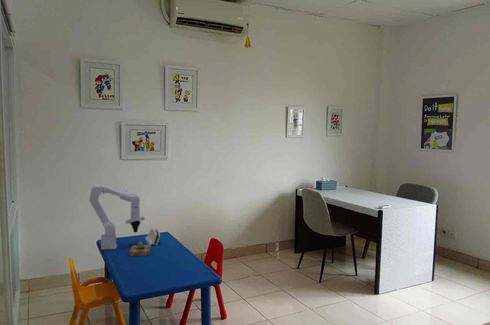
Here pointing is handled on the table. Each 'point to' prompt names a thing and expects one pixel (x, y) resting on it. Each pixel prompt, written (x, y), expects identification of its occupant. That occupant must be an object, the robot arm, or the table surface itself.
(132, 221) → the robot arm
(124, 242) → the table surface
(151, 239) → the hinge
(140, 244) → the pin
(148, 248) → the block
